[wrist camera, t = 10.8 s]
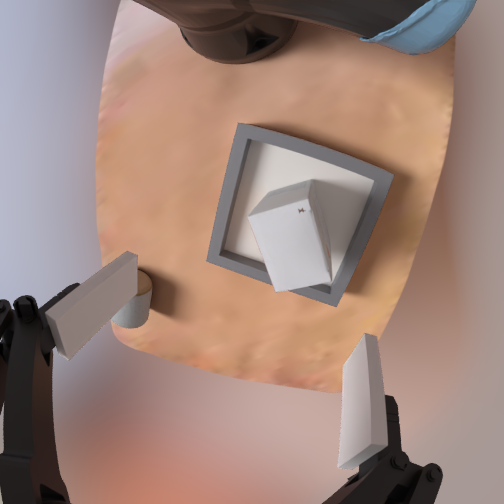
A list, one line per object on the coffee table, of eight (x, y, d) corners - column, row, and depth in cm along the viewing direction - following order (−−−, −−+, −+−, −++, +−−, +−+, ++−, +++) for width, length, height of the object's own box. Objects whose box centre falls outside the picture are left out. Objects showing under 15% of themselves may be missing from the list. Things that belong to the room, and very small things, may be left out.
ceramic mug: (161, 278, 45) (136, 301, 38) (156, 312, 48) (133, 336, 42) (114, 252, 46) (86, 270, 39) (112, 286, 49) (87, 306, 42)
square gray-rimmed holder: (247, 123, 32) (238, 122, 28) (386, 170, 30) (394, 174, 26) (216, 249, 40) (206, 261, 36) (335, 291, 38) (336, 307, 34)
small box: (268, 190, 33) (244, 214, 23) (312, 177, 31) (308, 196, 21) (288, 251, 35) (274, 295, 26) (331, 240, 33) (333, 283, 24)
